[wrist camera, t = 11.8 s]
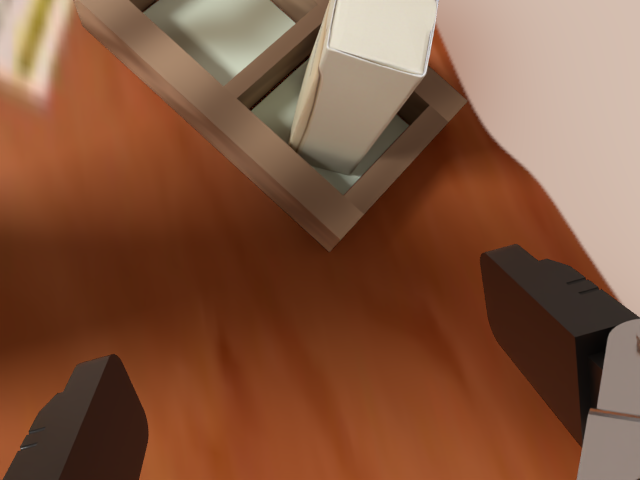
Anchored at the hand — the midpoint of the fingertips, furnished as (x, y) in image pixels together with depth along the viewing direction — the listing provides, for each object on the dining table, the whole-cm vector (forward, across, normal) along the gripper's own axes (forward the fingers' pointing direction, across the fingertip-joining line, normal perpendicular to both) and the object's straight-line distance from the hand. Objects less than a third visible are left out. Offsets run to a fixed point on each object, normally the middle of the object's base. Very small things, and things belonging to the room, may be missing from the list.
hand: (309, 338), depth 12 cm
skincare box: (+24, -4, 0) cm, 24 cm away
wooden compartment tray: (+26, -1, -3) cm, 26 cm away
